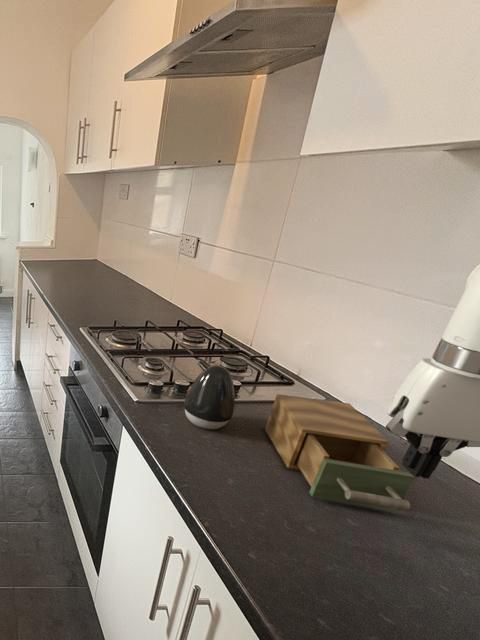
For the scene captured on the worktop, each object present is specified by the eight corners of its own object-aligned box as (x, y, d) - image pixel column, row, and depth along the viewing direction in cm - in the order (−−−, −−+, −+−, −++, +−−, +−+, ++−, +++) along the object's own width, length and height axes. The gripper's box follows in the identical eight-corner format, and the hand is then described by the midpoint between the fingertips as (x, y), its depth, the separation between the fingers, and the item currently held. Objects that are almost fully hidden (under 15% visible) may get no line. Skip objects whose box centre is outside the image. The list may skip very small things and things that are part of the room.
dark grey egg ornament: (201, 408, 106) (215, 354, 100) (238, 430, 97) (256, 372, 91) (170, 415, 103) (183, 360, 97) (205, 439, 94) (221, 379, 88)
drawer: (413, 534, 68) (435, 497, 65) (323, 516, 71) (340, 480, 68) (356, 464, 84) (370, 432, 81) (285, 453, 88) (296, 422, 85)
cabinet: (368, 482, 81) (388, 441, 77) (287, 468, 85) (302, 428, 81) (334, 440, 93) (349, 403, 90) (264, 429, 97) (276, 393, 93)
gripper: (526, 355, 55) (460, 466, 62) (388, 341, 59) (341, 447, 67) (582, 380, 49) (501, 500, 56) (423, 362, 53) (366, 477, 60)
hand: (414, 471), depth 61 cm, fingers closed
